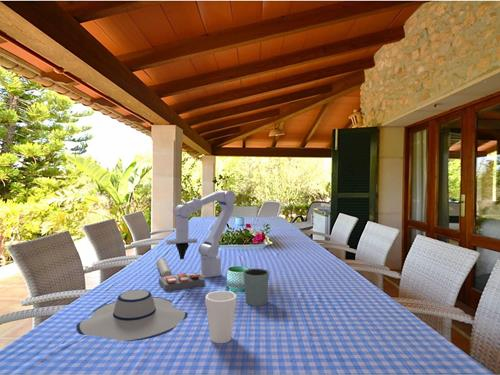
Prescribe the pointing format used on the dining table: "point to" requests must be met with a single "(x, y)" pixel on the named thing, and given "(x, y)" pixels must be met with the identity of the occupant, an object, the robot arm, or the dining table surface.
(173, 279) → the rocker
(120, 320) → the sun hat
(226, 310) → the foam cup
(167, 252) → the dining table surface
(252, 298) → the grey-green pot
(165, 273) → the tube
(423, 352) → the dining table surface
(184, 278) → the rocker
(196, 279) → the switch panel
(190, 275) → the rocker
